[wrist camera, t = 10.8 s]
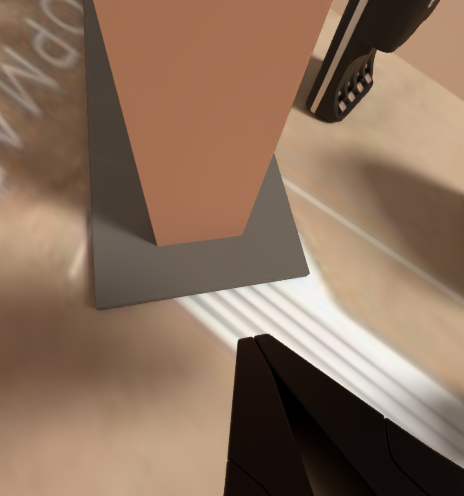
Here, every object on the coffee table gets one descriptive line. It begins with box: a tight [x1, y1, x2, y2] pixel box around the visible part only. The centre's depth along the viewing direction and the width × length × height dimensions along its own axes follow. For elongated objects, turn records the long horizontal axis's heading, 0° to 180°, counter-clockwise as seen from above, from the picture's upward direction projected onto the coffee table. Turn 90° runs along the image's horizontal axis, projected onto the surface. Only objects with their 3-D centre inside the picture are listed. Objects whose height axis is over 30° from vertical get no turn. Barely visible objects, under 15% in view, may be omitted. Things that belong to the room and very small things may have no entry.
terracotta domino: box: [93, 0, 333, 246], centre depth 12 cm, size 2×5×13 cm, turn 101°
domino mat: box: [83, 0, 310, 310], centre depth 22 cm, size 30×12×1 cm, turn 11°
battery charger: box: [306, 0, 440, 122], centre depth 19 cm, size 7×4×11 cm, turn 141°
